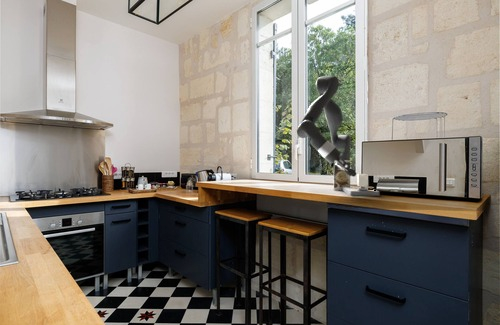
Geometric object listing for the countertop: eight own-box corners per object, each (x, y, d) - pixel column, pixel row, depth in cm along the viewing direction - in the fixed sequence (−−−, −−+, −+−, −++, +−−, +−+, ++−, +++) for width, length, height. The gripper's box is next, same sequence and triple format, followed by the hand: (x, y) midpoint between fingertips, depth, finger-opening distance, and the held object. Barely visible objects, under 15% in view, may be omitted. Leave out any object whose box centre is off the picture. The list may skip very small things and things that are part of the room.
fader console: (343, 191, 153) (343, 187, 153) (368, 191, 151) (368, 187, 151) (350, 195, 132) (350, 191, 132) (379, 195, 130) (379, 191, 130)
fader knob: (357, 189, 138) (357, 173, 138) (366, 189, 137) (366, 174, 137) (358, 190, 134) (358, 174, 134) (368, 190, 133) (368, 174, 133)
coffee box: (333, 190, 159) (333, 162, 159) (333, 189, 165) (333, 162, 165) (350, 190, 156) (350, 161, 156) (350, 189, 162) (349, 162, 162)
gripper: (336, 145, 131) (362, 169, 129) (332, 147, 145) (355, 169, 143) (325, 156, 132) (350, 181, 130) (322, 157, 146) (345, 179, 144)
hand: (353, 174), depth 136 cm, fingers open, 8 cm apart
